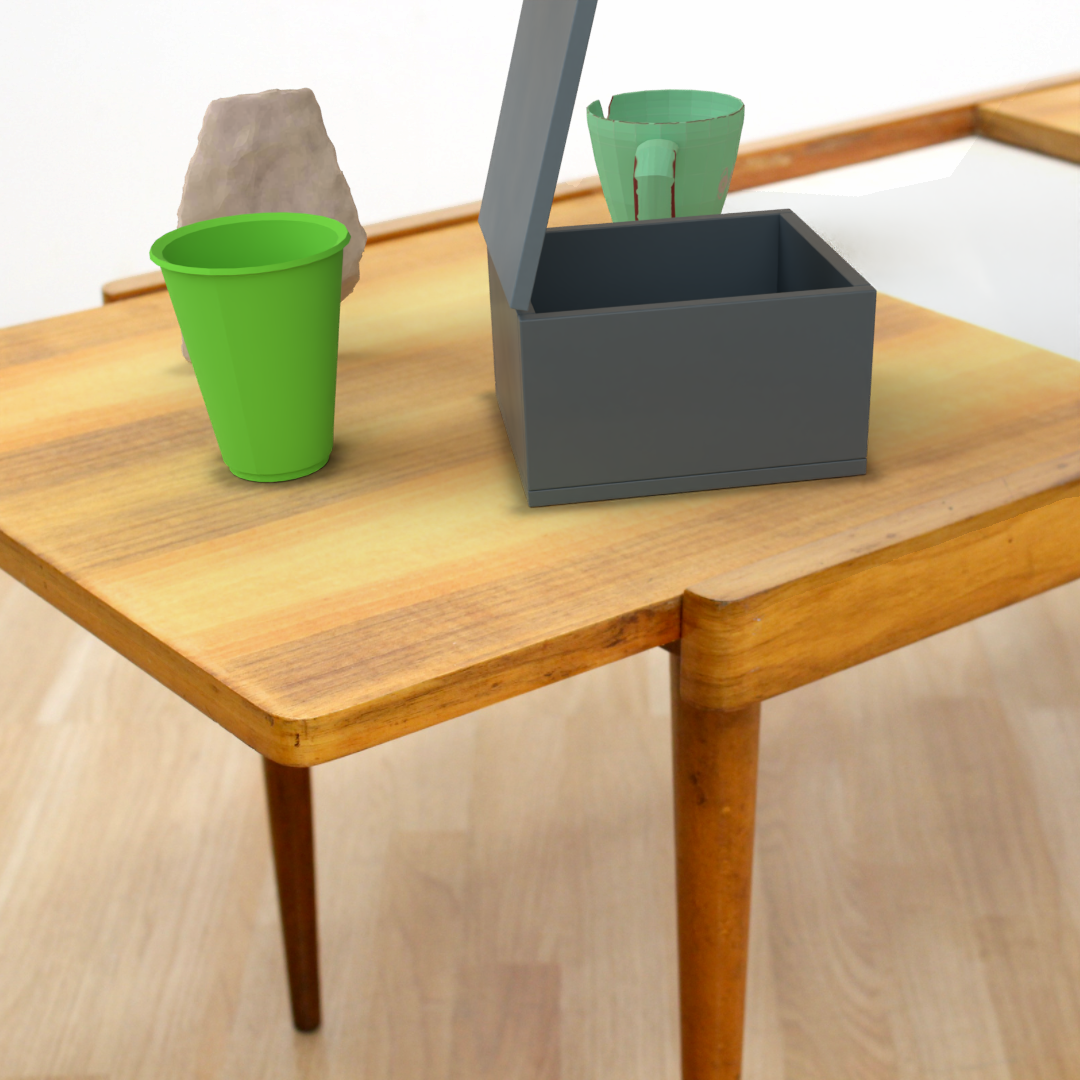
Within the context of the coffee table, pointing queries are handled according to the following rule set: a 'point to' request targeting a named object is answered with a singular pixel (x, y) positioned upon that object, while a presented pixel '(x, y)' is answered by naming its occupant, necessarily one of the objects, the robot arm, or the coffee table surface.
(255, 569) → the coffee table surface
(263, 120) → the stone
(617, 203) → the mug
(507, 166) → the lid
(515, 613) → the coffee table surface
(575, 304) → the chest
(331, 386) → the cup
